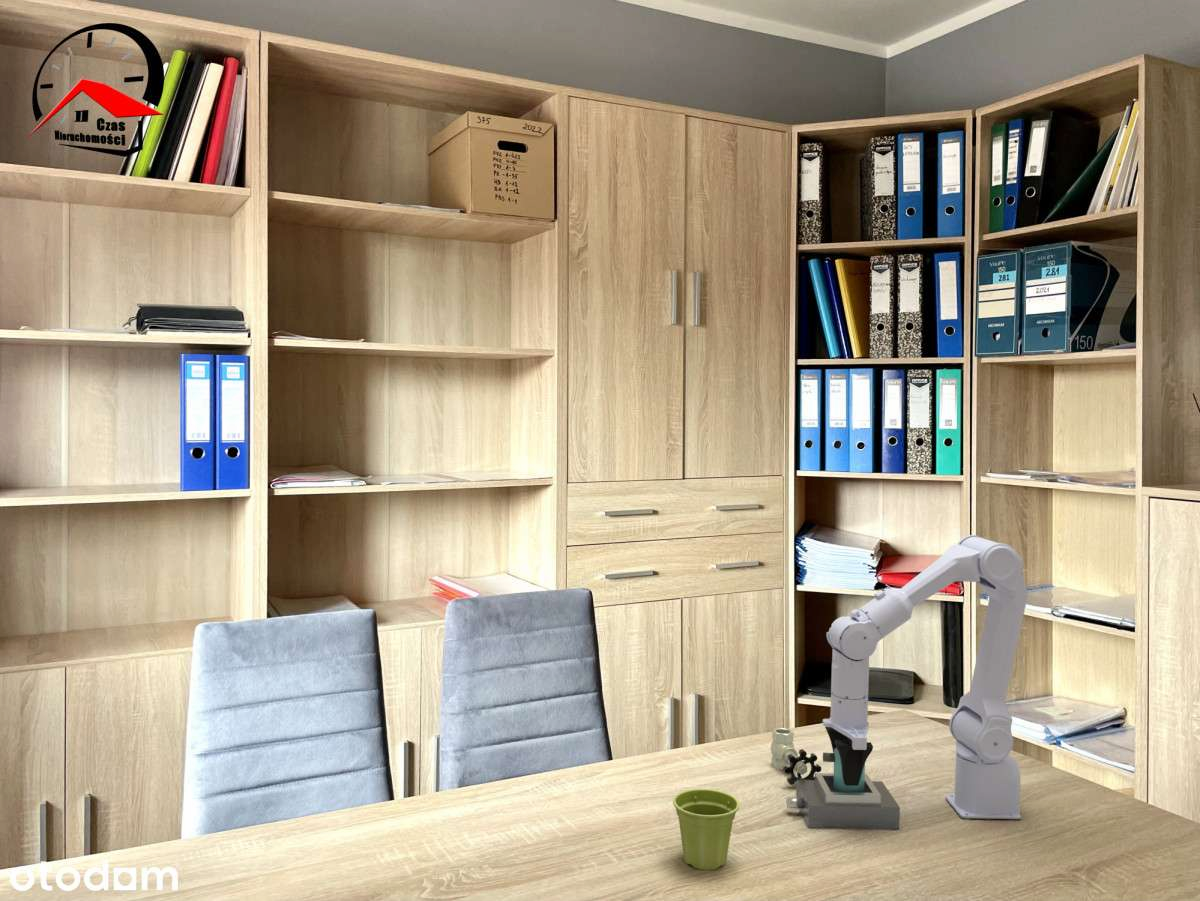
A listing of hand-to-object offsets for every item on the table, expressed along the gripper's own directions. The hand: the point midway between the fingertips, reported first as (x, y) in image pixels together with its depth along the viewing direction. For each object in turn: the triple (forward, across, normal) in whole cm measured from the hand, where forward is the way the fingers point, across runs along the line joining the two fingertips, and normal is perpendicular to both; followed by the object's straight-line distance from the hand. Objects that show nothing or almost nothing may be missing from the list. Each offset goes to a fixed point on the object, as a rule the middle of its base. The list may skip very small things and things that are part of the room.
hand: (847, 777), depth 156 cm
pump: (+2, 0, 0) cm, 2 cm away
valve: (+6, -16, -6) cm, 18 cm away
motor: (+6, 0, -1) cm, 6 cm away
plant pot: (+6, +16, -24) cm, 30 cm away
